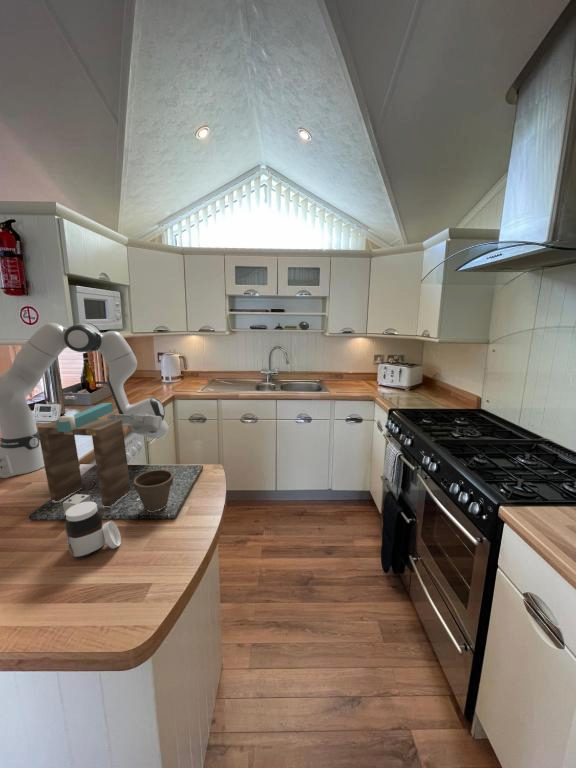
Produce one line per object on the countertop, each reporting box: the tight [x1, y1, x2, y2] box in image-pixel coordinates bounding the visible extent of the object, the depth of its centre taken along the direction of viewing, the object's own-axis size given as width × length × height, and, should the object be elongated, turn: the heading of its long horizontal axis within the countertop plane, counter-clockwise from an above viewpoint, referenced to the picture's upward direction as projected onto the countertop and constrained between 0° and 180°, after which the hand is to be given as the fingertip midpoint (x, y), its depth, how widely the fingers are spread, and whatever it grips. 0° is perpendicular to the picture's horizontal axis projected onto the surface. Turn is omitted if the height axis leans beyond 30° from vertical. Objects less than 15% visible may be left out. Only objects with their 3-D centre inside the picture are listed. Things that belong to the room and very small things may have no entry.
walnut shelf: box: [37, 418, 132, 506], centre depth 110 cm, size 22×10×26 cm, turn 80°
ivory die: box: [62, 493, 92, 514], centre depth 103 cm, size 5×5×5 cm
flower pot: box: [133, 469, 174, 511], centre depth 105 cm, size 12×11×10 cm
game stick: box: [56, 402, 114, 432], centre depth 110 cm, size 4×22×4 cm, turn 174°
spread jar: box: [64, 501, 122, 560], centre depth 86 cm, size 12×11×12 cm
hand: (121, 416), depth 126 cm, fingers open, 8 cm apart
